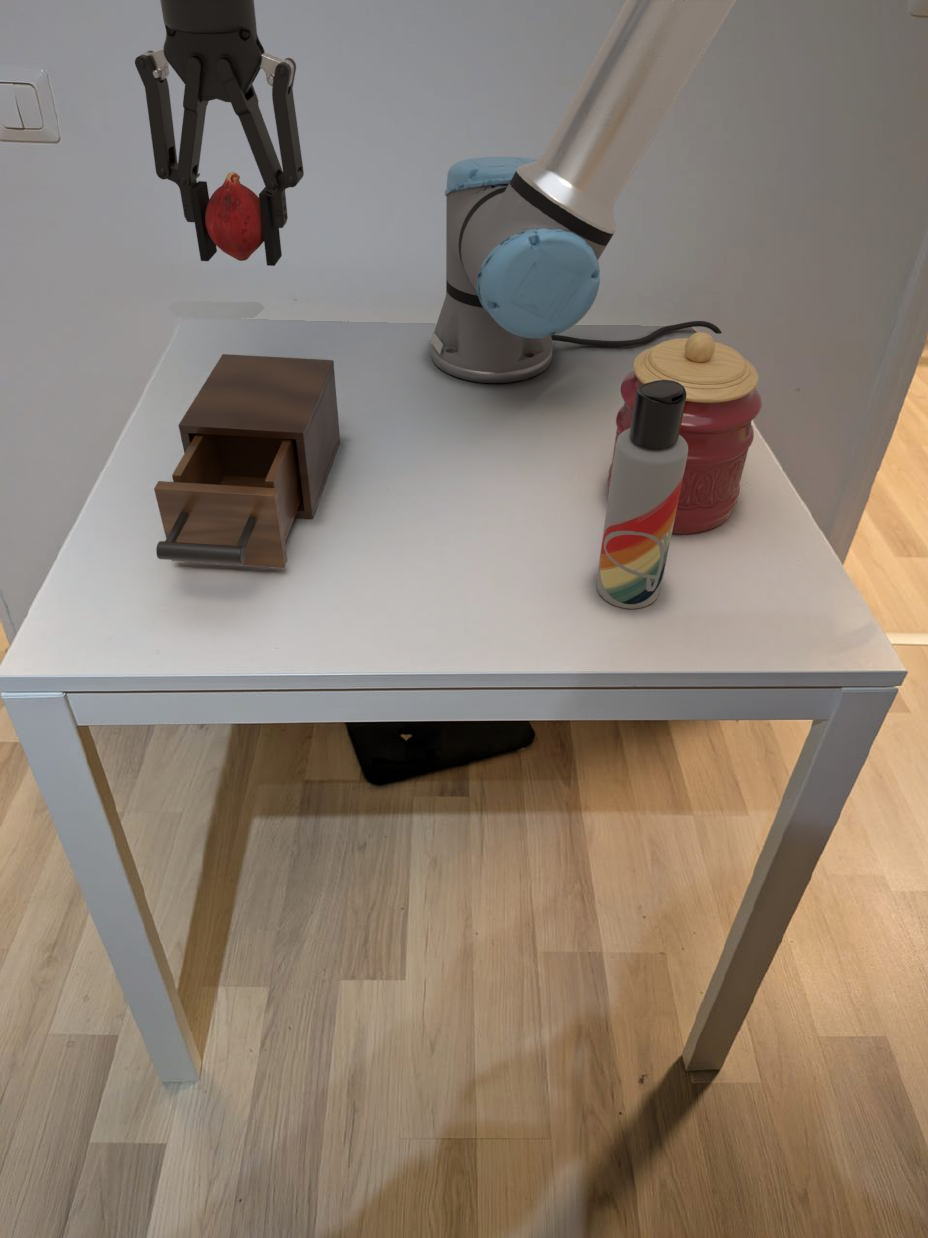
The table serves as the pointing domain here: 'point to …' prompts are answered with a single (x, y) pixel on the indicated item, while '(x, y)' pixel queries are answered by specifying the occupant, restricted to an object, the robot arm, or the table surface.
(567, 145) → the robot arm
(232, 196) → the red pomegranate
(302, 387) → the cabinet
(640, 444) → the lotion bottle
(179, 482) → the drawer
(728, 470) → the kitchen canister
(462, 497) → the table surface
